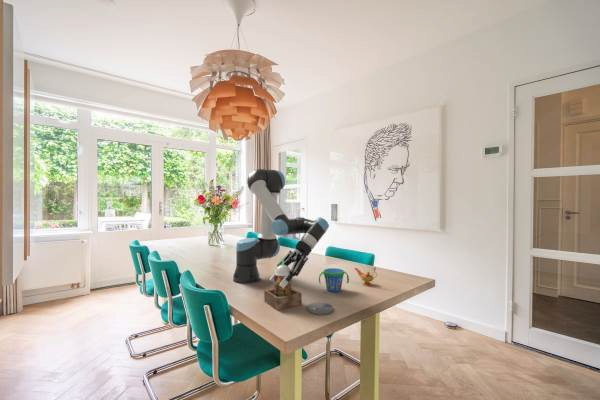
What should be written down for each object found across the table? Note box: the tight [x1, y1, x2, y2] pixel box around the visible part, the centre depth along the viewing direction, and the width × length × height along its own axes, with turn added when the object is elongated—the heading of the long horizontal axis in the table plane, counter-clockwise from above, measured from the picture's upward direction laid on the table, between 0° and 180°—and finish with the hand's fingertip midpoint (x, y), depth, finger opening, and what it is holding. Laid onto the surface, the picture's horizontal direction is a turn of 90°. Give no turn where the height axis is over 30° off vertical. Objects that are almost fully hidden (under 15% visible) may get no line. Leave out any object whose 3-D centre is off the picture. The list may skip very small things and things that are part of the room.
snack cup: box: [318, 267, 350, 293], centre depth 145 cm, size 16×10×10 cm
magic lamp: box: [354, 266, 378, 287], centre depth 156 cm, size 7×18×11 cm, turn 29°
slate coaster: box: [307, 301, 334, 316], centre depth 119 cm, size 11×11×1 cm
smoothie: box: [273, 258, 293, 297], centre depth 127 cm, size 8×8×20 cm
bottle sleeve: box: [263, 287, 303, 311], centre depth 127 cm, size 12×12×5 cm
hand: (276, 283), depth 125 cm, fingers closed on smoothie, 8 cm apart
